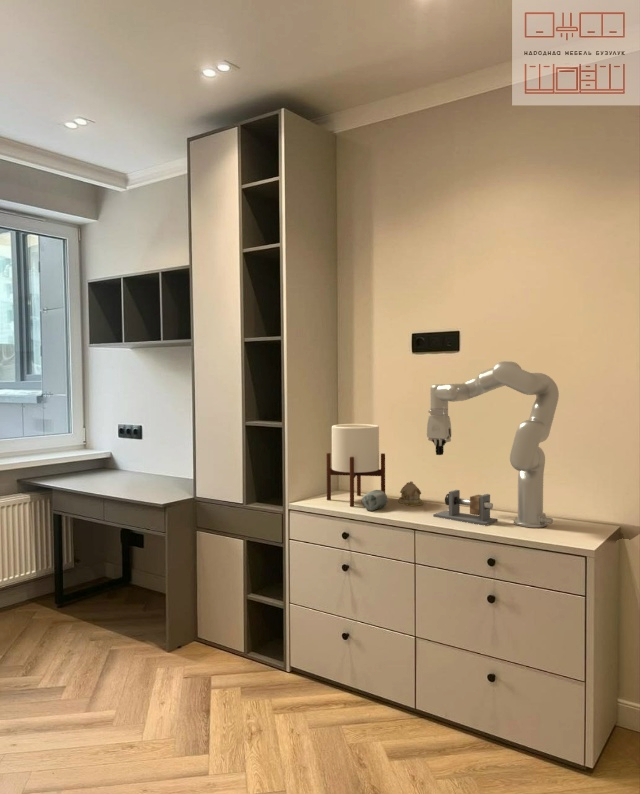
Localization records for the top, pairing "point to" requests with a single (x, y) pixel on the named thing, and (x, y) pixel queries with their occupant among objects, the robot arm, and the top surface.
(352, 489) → the plant pot with stand
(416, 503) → the ceramic model
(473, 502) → the block
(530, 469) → the robot arm
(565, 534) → the top surface
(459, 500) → the shaft
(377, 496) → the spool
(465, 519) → the grey bearing stand
